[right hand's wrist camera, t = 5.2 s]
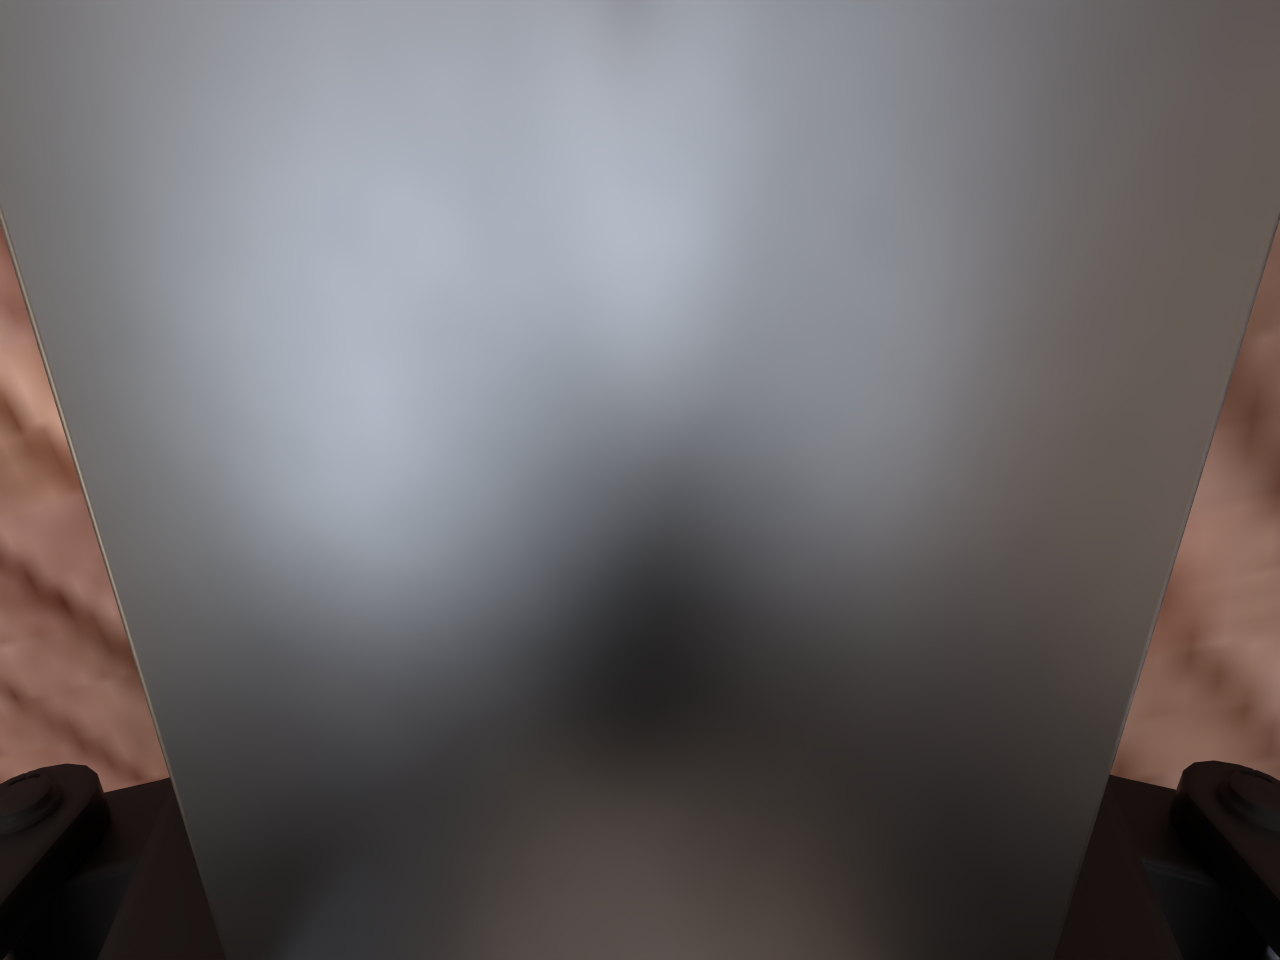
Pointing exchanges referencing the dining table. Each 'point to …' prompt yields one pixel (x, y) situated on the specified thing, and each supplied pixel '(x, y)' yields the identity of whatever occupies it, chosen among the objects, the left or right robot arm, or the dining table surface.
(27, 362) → the dining table surface
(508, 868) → the box
